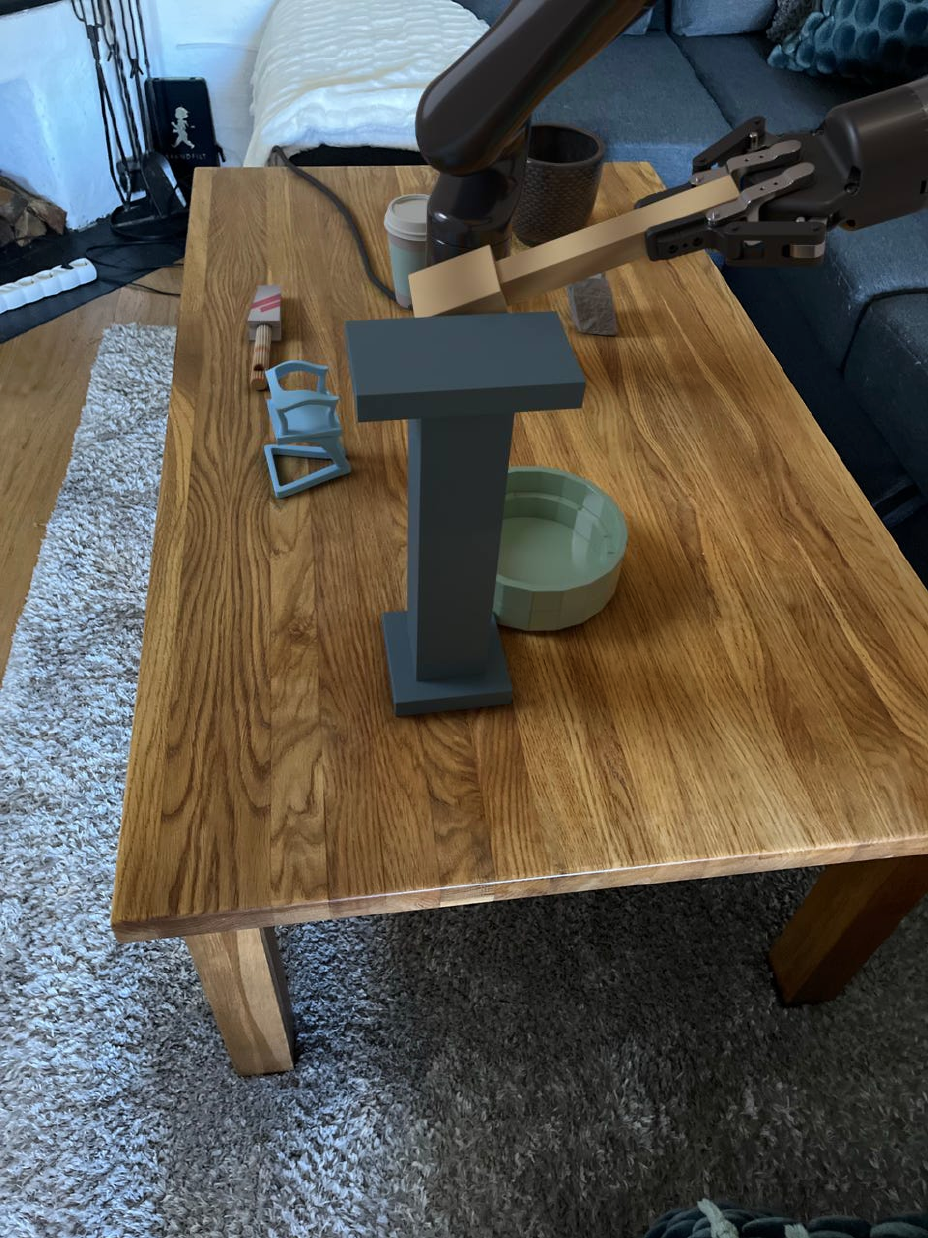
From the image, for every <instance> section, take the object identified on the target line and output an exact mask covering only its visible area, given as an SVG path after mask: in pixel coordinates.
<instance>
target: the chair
mask: <svg viewBox="0 0 928 1238" xmlns="http://www.w3.org/2000/svg"><path fill="white" fill-rule="evenodd" d="M329 369H330V368H329V366H328V365H320V364H315V363H312V362H309V361H306V360H301V359H290V360H287V361H284V362H282V363H280V364H277V365H276V366H274V367H271V368H270V369H268V371H266V372H265V374H266V377H267V384H268V385H269V390H270V391H269V392H270V397H271V398H267V399H266V405H267V409H268V413H269V418H270V422H271V425H272V429H273V433H274V437H275V440H276V441H275V442H276V443H273V444H272V443H270V444H266V445H264V447H263V450H264V454H265V457H266V462H267V466H268V470H269V474H270V478H271V483H272V486H273V490H274V494H275V497H276V498H277V499H283V498H286V497H289V496H293V495H295V494H296V493H300V492H303V491H304V490H307V489H309V488H313V487H315V486H318V485H319V484H322V483H324V482H326V481H329V480H331V479H334V478H337V477H341V476H344V475H347V474H349V473H351V471H352V469H351V465H350V462H349V461H348V459H347V458H346V456H347V454H346V449H345V447H344V445H343V443H342V441H341V440H340V437H343V428H342V425H341V422H340V418H339V416H338V414H337V411H336V409H337V405H338V402H339V400H340V397H339V396H337V395H332V394H331V392H330V391H329V390H328V391H327V390H326V378H327V374H328V371H329ZM294 372H295V373H296V372H304V373H309V374H312V375H316V376H318V381H317V391H314V390H310V389H309V390H308V389H295V390H284V389H283V388H282V387H281V385H280V383H279V380H280V379H282V378H283V377H284V376H286V375H289V374H291V373H294ZM295 443H297V444H295ZM298 444H312V445H315V446H309V445H298ZM273 455H276V456H277V455H279V456H290V457H291V456H292V457H299V458H300V457H301V458H312V459H325V460H331V461H332V462H333V463H334V464H332V465H329V466H327V467H325V468H322V469H320V470H317V471H315V472H312V473H310V474H308V475H305V476H303V477H301V478H299V479H296V480H294V481H292V482H289V483H287V484H285V485H280V481H279V478H278V473H277V468H276V464H275V460H274V456H273Z"/></svg>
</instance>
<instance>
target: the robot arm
mask: <svg viewBox="0 0 928 1238" xmlns="http://www.w3.org/2000/svg"><path fill="white" fill-rule="evenodd" d="M661 1H662V0H511V1H510V2H509V4H508V5H507V6H506V8H505V9H504V11H503V12H502V13H501V14H500V16H499V17H498V18H497V19H496V20H495V21H494V22H493V24H492V25H491V26H490V27H489V28H488V29H487V30H486V31H485V32H484V33H483V34H482V35H481V36H480V37H479V38H478V39H477V40H476V41H475V42H474V43H473V44H472V45H471V46H469V48H468V49H467V50H466V51H465V52H464V53H463V54H462V55H461V56H460V57H458V58H457V59H456V60H455V61H454V62H453V63H452V64H451V65H450V66H448V67H447V68H446V69H445V70H444V71H442V72H440V74H438V75H437V76H435V78H434V79H432V80H431V82H429V84H427V86H426V88H425V89H424V91H423V92H422V94H421V96H420V98H419V101H418V103H417V106H416V107H417V108H416V111H415V117H414V135H415V139H416V145H417V148H418V149H419V152H420V154H421V156H422V158H423V159H424V161H425V163H427V165H428V166H429V167H431V168H432V169H433V170H435V171H437V172H438V176H437V179H436V181H435V183H434V186H433V188H432V190H431V191H430V194H429V195H430V196H429V199H428V202H427V212H426V268H429V267H431V266H434V265H437V264H439V263H442V262H445V261H447V260H450V259H453V258H455V257H458V256H461V255H463V254H466V253H469V252H471V251H474V250H477V249H479V248H482V247H485V246H487V245H490V247H491V250H492V252H493V255H494V258H495V261H499V260H501V259H504V258H507V257H509V256H511V254H512V253H511V252H512V242H513V223H514V217H515V213H516V210H517V208H518V205H519V203H520V200H521V196H522V192H523V186H524V179H525V172H526V164H527V157H528V149H529V142H530V133H531V123H533V118H532V117H533V112H534V111H535V110H536V109H537V107H538V106H539V105H540V104H541V103H542V102H543V101H544V100H545V99H546V98H547V97H548V96H549V95H550V94H551V93H552V92H553V91H554V90H555V89H556V88H557V87H558V86H560V85H561V84H562V83H564V82H565V81H566V80H567V79H568V78H569V77H571V76H572V75H574V73H576V72H577V71H579V70H580V69H581V68H583V67H584V66H586V65H587V64H588V63H589V62H590V61H592V60H593V59H595V58H596V57H597V56H598V55H599V54H601V53H602V52H604V51H605V50H607V48H608V47H610V46H611V45H612V44H614V42H617V40H618V39H620V38H621V37H622V36H623V35H624V34H625V33H627V32H628V31H629V30H630V29H632V27H634V26H635V25H636V24H637V23H638V22H639V21H640V20H641V19H642V18H644V17H645V16H646V15H647V14H648V13H649V12H651V10H652V9H653V8H655V7H656V6H657V5H658V4H659V3H660V2H661ZM766 122H767V120H766V118H765V117H764V116H763V115H762V116H761V115H755V116H751V117H750V118H749V119H747V120H745V121H744V122H743V123H741V124H740V125H738V126H737V127H736V128H734V129H733V130H732V131H730V132H729V133H727V134H726V135H724V136H723V137H721V138H720V139H719V140H717V141H716V142H714V143H713V144H711V145H710V146H709V147H707V148H706V149H704V150H703V151H702V152H700V153H698V154H697V155H695V156H694V157H693V158H692V161H691V163H692V171H691V175H690V178H689V180H688V181H687V182H684V183H683V184H679V185H677V186H673V187H669V188H667V189H664V190H659V191H658V192H654V193H651V194H648V195H646V196H644V197H642V198H639V199H638V200H637V201H636V202H635V203H634V205H633V210H636V209H639V208H642V207H644V206H647V205H650V204H652V203H655V202H658V201H660V200H663V199H666V198H669V197H671V196H674V195H676V194H679V193H682V192H684V191H687V190H690V189H692V188H695V187H698V186H700V185H703V184H706V183H709V182H711V181H714V180H717V179H719V178H722V177H725V176H727V175H731V177H732V179H733V181H734V183H735V185H736V187H737V189H738V191H739V193H740V195H739V197H738V198H737V199H736V200H733V201H731V202H728V203H726V204H723V205H721V206H718V207H716V208H713V209H711V210H709V211H708V212H707V214H706V217H704V216H703V214H702V212H698V213H695V214H692V215H689V216H685V217H682V218H677V219H674V220H671V221H667V222H664V223H661V224H658V225H654V226H651V227H649V228H648V229H647V230H646V232H645V243H646V252H647V255H648V256H647V258H648V259H649V261H650V262H658V261H669V260H673V259H676V258H680V257H682V256H686V255H689V254H693V253H696V252H699V251H703V250H708V251H709V252H711V253H720V254H721V255H722V256H724V263H725V265H726V266H728V267H735V268H737V267H740V268H743V267H744V268H747V267H749V268H752V267H753V268H801V269H803V268H805V269H806V268H807V269H808V268H810V269H813V268H814V269H815V268H818V267H820V266H821V265H822V264H824V259H825V251H826V243H827V242H826V239H827V237H826V236H827V233H829V232H831V231H832V230H833V231H834V229H836V228H837V227H839V228H840V229H842V230H844V231H846V232H856V231H859V230H861V229H865V228H868V227H873V226H875V225H879V224H882V223H885V222H890V221H892V220H896V219H899V218H902V217H905V216H909V215H912V214H915V213H919V212H922V211H926V210H928V76H927V77H923V78H921V79H918V80H917V79H916V80H915V81H911V82H909V83H905V84H902V85H899V86H895V87H892V88H889V89H886V90H884V91H879V92H877V93H873V94H871V95H867V96H864V97H860V98H858V99H854V100H851V101H849V102H845V103H841V104H839V105H835V106H834V107H832V108H831V109H830V110H829V111H828V112H827V114H826V115H825V117H824V119H823V120H822V122H820V123H819V125H818V126H817V127H816V128H814V129H813V130H810V131H803V132H802V131H801V132H789V133H785V134H783V135H781V136H777V135H776V134H773V133H771V132H769V131H768V130H766V128H767V126H766V125H767V123H766ZM270 152H271V153H273V154H276V153H277V155H278V156H279V157H280V159H281V161H282V162H283V164H284V165H285V166H286V167H287V168H288V169H289V170H290V171H292V172H294V173H295V174H296V175H298V176H300V177H301V178H303V179H305V180H306V181H308V182H309V183H311V184H312V185H314V186H315V187H316V188H317V189H319V190H320V191H321V192H322V193H324V194H325V195H326V197H328V198H330V200H331V201H332V202H333V204H335V206H337V208H338V209H339V210H340V212H341V213H342V215H343V216H344V218H345V220H346V222H347V224H348V226H349V227H350V228H349V229H350V231H352V234H353V237H354V239H355V242H356V245H357V248H358V252H359V254H360V256H361V259H362V263H363V265H364V269H365V272H366V275H367V276H368V278H369V280H370V281H371V283H372V284H373V285H374V286H375V287H376V288H377V289H378V290H379V291H381V292H382V293H383V294H384V295H385V296H387V297H388V298H390V299H391V300H392V301H394V302H396V303H398V302H397V299H396V295H395V292H394V291H392V290H391V289H389V288H388V287H387V286H386V285H385V284H384V283H383V282H382V281H381V280H380V279H379V278H378V277H377V275H376V274H375V272H374V270H373V267H372V265H371V261H370V259H369V255H368V253H367V249H366V247H365V245H364V242H363V239H362V236H361V234H360V233H361V232H360V231H359V228H358V227H357V224H356V223H355V222H356V221H354V218H353V217H352V215H351V213H350V211H349V210H348V209H347V208H346V206H345V204H344V202H342V201H341V200H340V199H339V197H338V196H337V195H336V194H335V193H334V192H333V191H331V190H330V189H329V188H328V187H327V186H325V185H324V184H323V182H321V181H319V180H318V179H317V178H316V177H314V176H312V175H311V174H309V173H307V172H306V171H305V170H303V169H301V168H299V167H298V166H296V165H295V164H293V163H292V162H291V161H290V160H289V158H288V157H287V155H286V154H285V152H284V150H283V149H282V148H281V146H280V145H277V144H274V145H273V146H272V148H271V149H270ZM715 165H717V166H716V168H712V167H714V166H715ZM743 177H744V179H743V180H744V181H743V183H744V184H743V187H744V189H742V187H741V186H742V185H741V181H742V178H743ZM738 218H740V222H732V221H733V220H735V219H738ZM745 243H746V244H747V245H748V246H754V245H757V244H761V243H763V247H745ZM426 268H425V269H426ZM398 304H399V303H398ZM408 308H409V309H408V310H411V311H413V304H410V305H409V306H408Z"/></svg>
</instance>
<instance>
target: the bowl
mask: <svg viewBox="0 0 928 1238" xmlns="http://www.w3.org/2000/svg"><path fill="white" fill-rule="evenodd" d="M628 540H629V530H628V526H627V522H626V518H625V515H624V512H623V511H622V509H620V507H619V506H618V505H617V503H616V502H615V500H614V499H613V497H612V496H611V495H610V494H608V493H607V492H605V491H604V490H603V489H602V488H600V487H599V486H598V485H596V484H595V483H594V482H592V481H591V480H589V479H586V478H584V477H582V476H580V475H577V474H575V473H573V472H570V471H568V470H564V469H560V468H559V469H558V468H553V467H549V466H545V465H513V466H509V469H508V478H507V487H506V496H505V505H504V514H503V523H502V532H501V541H500V549H499V558H498V567H497V576H496V585H495V594H494V603H493V612H494V616H495V620H496V624H497V625H499V626H505V627H508V628H513V629H518V630H522V631H526V632H527V631H528V632H529V631H530V632H532V631H533V632H537V631H538V632H539V631H541V632H543V631H559V630H562V629H565V628H566V629H567V628H569V627H572V626H577V625H580V624H583V623H585V622H586V621H587V620H589V619H591V618H592V617H594V616H596V615H597V614H598V613H600V612H601V611H603V610H604V608H605V607H606V605H607V604H608V602H609V601H610V600H611V598H612V597H613V596H614V595H615V593H616V589H617V585H618V582H619V577H620V575H621V569H622V566H623V562H624V558H625V554H626V549H627V545H628Z"/></svg>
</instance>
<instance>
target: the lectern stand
mask: <svg viewBox="0 0 928 1238" xmlns="http://www.w3.org/2000/svg"><path fill="white" fill-rule="evenodd" d="M344 332H345V333H344V335H345V350H346V355H347V361H348V368H349V375H350V383H351V387H352V388H351V389H352V395H353V402H354V407H355V408H354V409H355V415H356V420H357V423H359V424H360V423H375V422H390V421H392V422H393V421H405V420H407V542H406V543H407V545H406V546H407V547H406V548H407V549H406V551H407V556H406V557H407V559H406V561H407V562H406V564H407V565H406V566H407V567H406V591H407V592H406V610H399V611H389V612H382V613H381V628H382V629H381V630H382V634H383V635H382V636H383V643H384V649H385V655H386V661H387V668H388V669H387V670H388V676H389V682H390V689H391V696H392V703H393V710H394V716H395V717H404V716H413V715H423V714H429V713H430V714H431V713H441V712H446V711H447V712H448V711H449V712H450V711H456V710H457V711H458V710H467V709H476V708H484V707H495V706H503V705H511V704H512V699H513V693H514V689H513V683H512V680H511V676H510V671H509V668H508V664H507V660H506V656H505V652H504V648H503V644H502V640H501V636H500V631H499V628H498V623H496V620H495V616H494V612H493V603H494V594H495V585H496V576H497V567H498V558H499V549H500V541H501V532H502V523H503V514H504V505H505V496H506V487H507V478H508V469H509V467H510V460H511V452H512V451H511V450H512V441H513V433H514V432H513V431H514V425H515V424H514V422H515V414H516V413H530V412H532V413H533V412H545V411H546V412H547V411H563V410H564V411H565V410H578V409H582V408H583V402H584V397H585V391H586V386H587V381H586V377H584V373H583V371H582V369H581V366H580V364H579V361H578V359H577V356H576V355H575V352H574V349H573V348H572V345H571V343H570V341H569V338H568V335H567V333H566V330H565V328H564V326H563V323H562V322H561V319H560V316H559V314H558V312H557V310H547V311H546V310H545V311H525V312H522V311H521V312H509V313H501V314H480V315H460V316H439V317H418V318H415V317H400V318H397V317H396V318H380V319H379V318H378V319H377V318H376V319H357V320H345V321H344Z"/></svg>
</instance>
